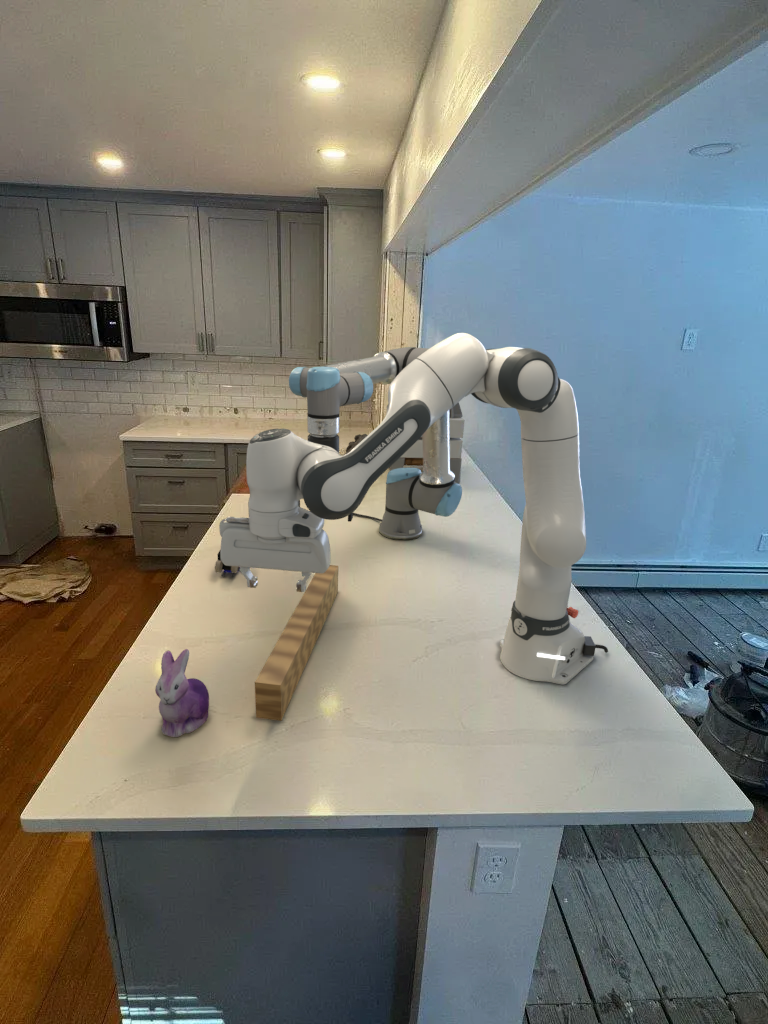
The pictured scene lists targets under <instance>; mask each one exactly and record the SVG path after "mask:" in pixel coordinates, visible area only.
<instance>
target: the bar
mask: <svg viewBox="0 0 768 1024" xmlns="http://www.w3.org/2000/svg"><path fill="white" fill-rule="evenodd" d="M338 593H339V565H336V564H335V565H334V564H330V566H329V568H328V569H327V570H326V571H325V572H324V573H314V575H313V576H312V578H311V580H310V582H309V584H308V585H307V586H306V590H305V592H303V594H302V596H301V598H300V600H299V601H298V603H297V605H296V607H295V609H294V610H293V613H292V614H291V616H290V618H289V620H288V622H287V623H286V625H285V627H284V628H283V630H282V632H281V634H280V636H279V638H278V639H277V641H276V643H275V644H274V646H273V648H272V650H271V652H270V653H269V656H268V657H267V659H266V661H265V663H264V665H263V666H262V668H261V670H260V671H259V673H258V676H257V677H256V679H255V681H254V699H255V718H256V719H261V720H262V719H263V720H271V721H278V722H279V721H280V722H282V721H283V719H284V716H285V714H286V711H287V709H288V707H289V704H290V702H291V700H292V698H293V696H294V694H295V691H296V688H297V686H298V684H299V682H300V680H301V677H302V675H303V673H304V671H305V668H306V665H307V664H308V662H309V659H310V657H311V654H312V653H313V650H314V647H315V646H316V643H317V641H318V638H319V636H320V633H321V631H322V629H323V627H324V624H325V623H326V621H327V618H328V616H329V613H330V611H331V609H332V607H333V604H334V602H335V600H336V597H337V595H338Z"/></svg>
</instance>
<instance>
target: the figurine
mask: <svg viewBox="0 0 768 1024" xmlns="http://www.w3.org/2000/svg"><path fill="white" fill-rule="evenodd" d="M189 658H190V649H187V648H184V649H183V650H182V651H181V652H180V654H179V655H178V656H177V657H176V659H175V658H174V656H173V652H171V651H170V650H167V649H166V651H165V652H163V654H162V657H161V663H160V665H161V668H160V669H161V674H160V676H159V678H158V680H157V682H156V684H155V688H154V689H155V694H156V696H157V697H158V698H159V703H158V712H159V714H160V716H161V720H162V727H161V733H162V734H163V735H164V736H168V737H171V738H179V737H181V736H183V735H184V734H191V733H192V732H194V731H196V730H197V729H199V728H201V726H203V725H204V724H205V723H207V721H208V718H209V709H210V695H209V690H208V687H207V685H206V684H205V683H204V682H203V681H202V680H200V679H198V678H195V677H194V678H191V677H190V678H187V676H186V673H185V672H186V669H187V665H188V662H189Z"/></svg>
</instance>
